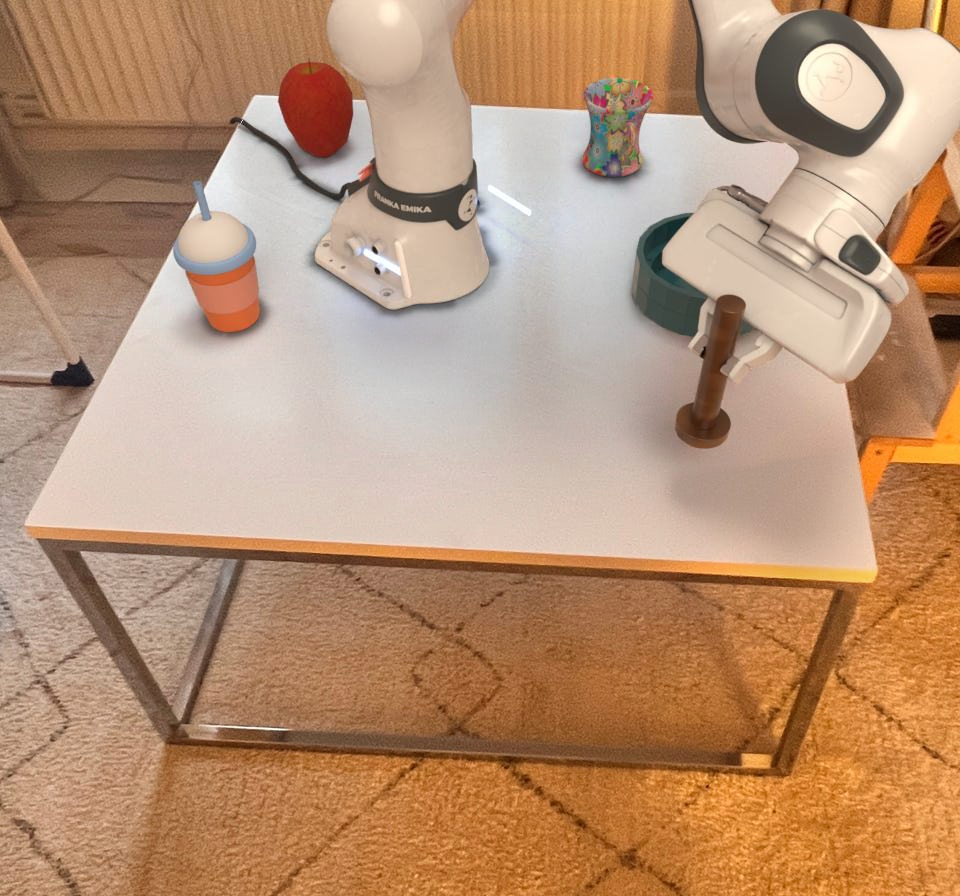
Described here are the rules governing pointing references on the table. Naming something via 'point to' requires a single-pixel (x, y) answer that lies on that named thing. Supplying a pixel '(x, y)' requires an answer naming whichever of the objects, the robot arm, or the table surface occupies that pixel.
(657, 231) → the bowl
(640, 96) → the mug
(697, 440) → the wooden peg stand
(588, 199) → the table surface
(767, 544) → the table surface
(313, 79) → the apple
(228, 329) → the cup with straw
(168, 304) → the table surface
